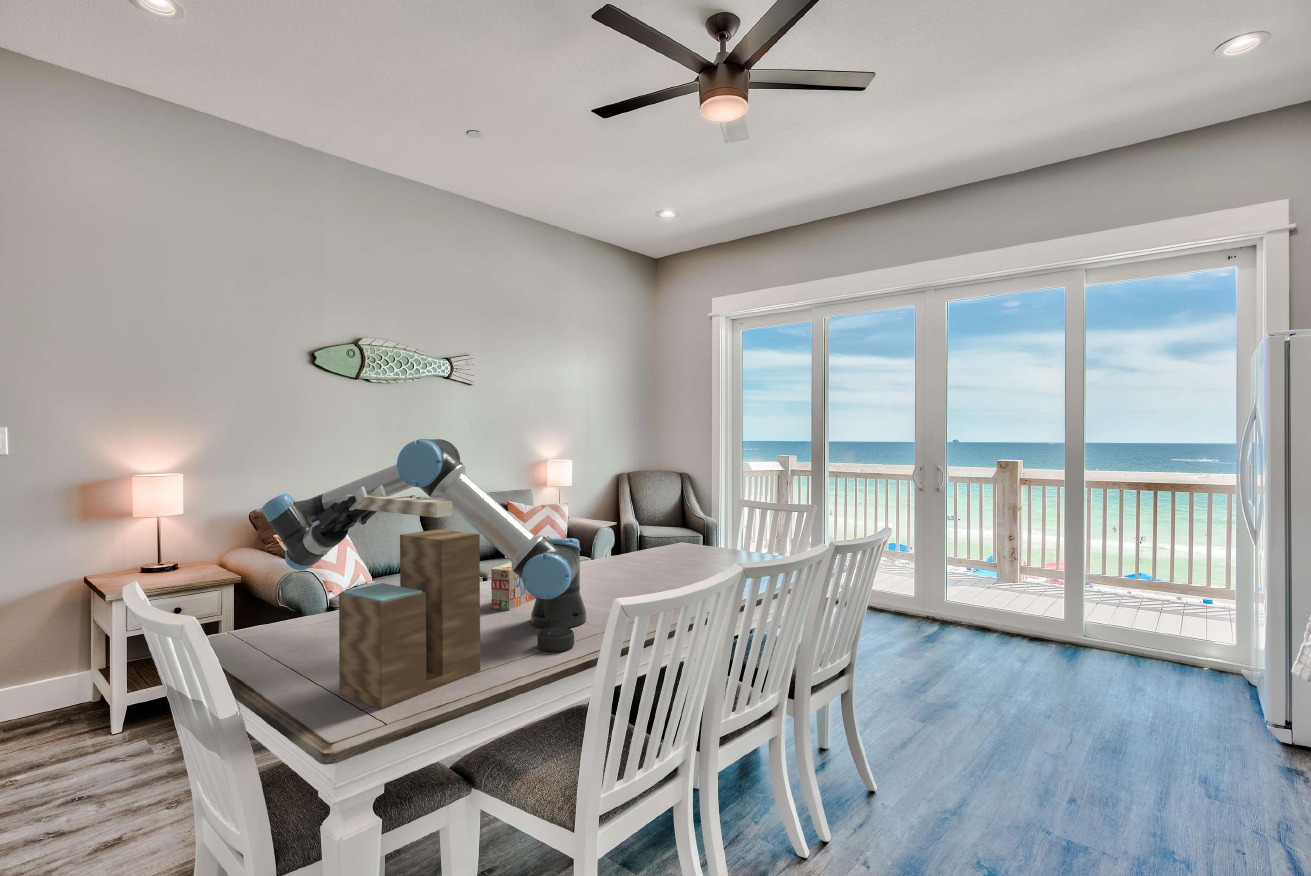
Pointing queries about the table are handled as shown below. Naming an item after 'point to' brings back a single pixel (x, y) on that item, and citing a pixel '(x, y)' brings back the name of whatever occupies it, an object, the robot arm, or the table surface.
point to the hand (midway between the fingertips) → (373, 491)
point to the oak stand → (413, 622)
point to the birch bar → (406, 506)
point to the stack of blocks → (508, 588)
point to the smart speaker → (555, 639)
